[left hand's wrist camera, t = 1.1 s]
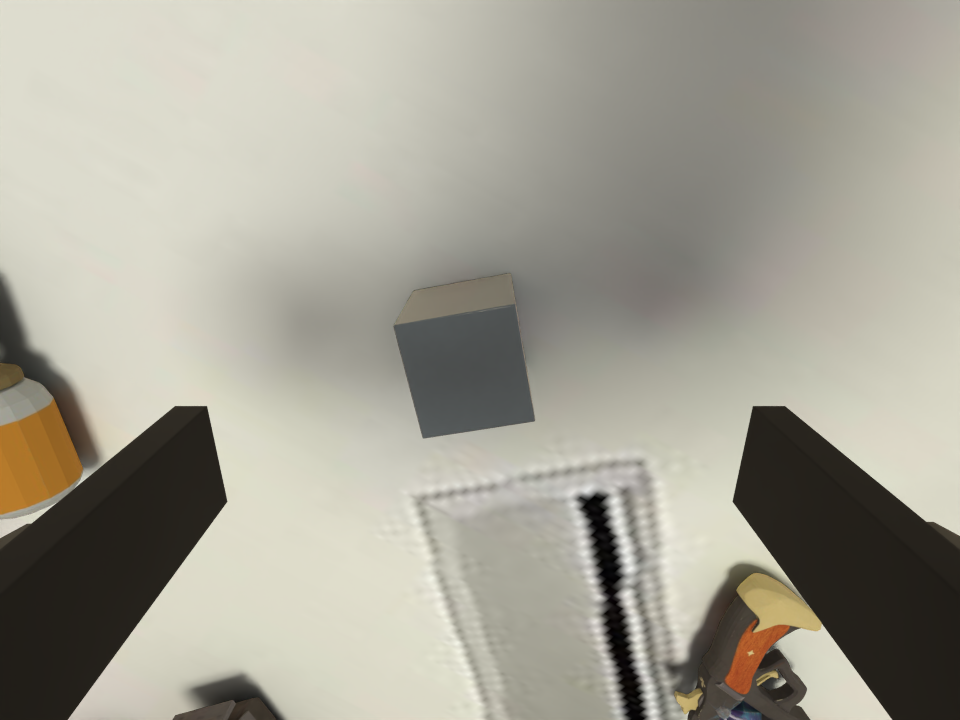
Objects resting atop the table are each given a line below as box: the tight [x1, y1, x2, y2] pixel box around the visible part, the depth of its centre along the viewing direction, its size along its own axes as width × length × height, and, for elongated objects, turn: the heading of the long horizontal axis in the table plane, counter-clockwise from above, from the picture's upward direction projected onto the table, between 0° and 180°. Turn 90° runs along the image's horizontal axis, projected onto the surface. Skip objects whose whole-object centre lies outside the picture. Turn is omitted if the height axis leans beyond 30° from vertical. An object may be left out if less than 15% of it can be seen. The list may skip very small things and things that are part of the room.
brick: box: [393, 273, 535, 438], centre depth 21 cm, size 5×4×5 cm
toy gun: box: [674, 573, 822, 720], centre depth 30 cm, size 3×19×10 cm
